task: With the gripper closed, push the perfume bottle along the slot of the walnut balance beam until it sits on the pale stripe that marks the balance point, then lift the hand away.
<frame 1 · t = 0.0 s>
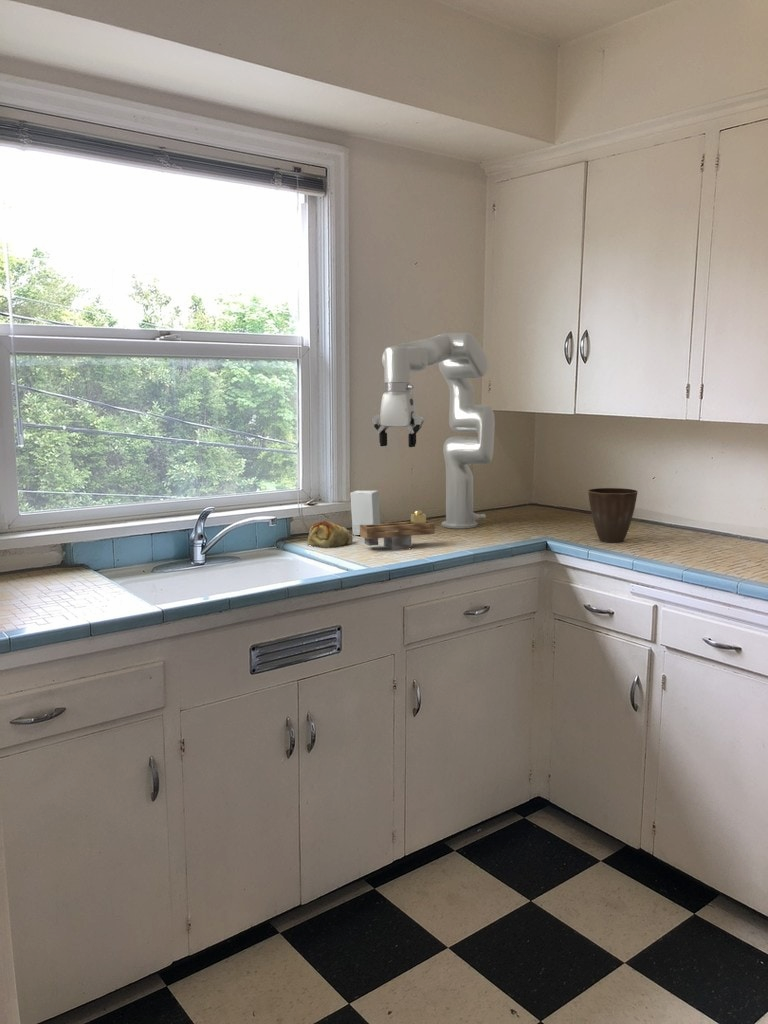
hand: (397, 446, 244), 31 cm above the worktop, tool pointing down, fingers open, 9 cm apart
beam: (397, 547, 250), on the worktop
skincare box: (366, 535, 272), on the worktop
plant pot: (611, 541, 257), on the worktop
perfume bottle: (418, 519, 251), point 8 cm above the worktop, slide at 0.0 cm
pastry: (329, 545, 256), on the worktop
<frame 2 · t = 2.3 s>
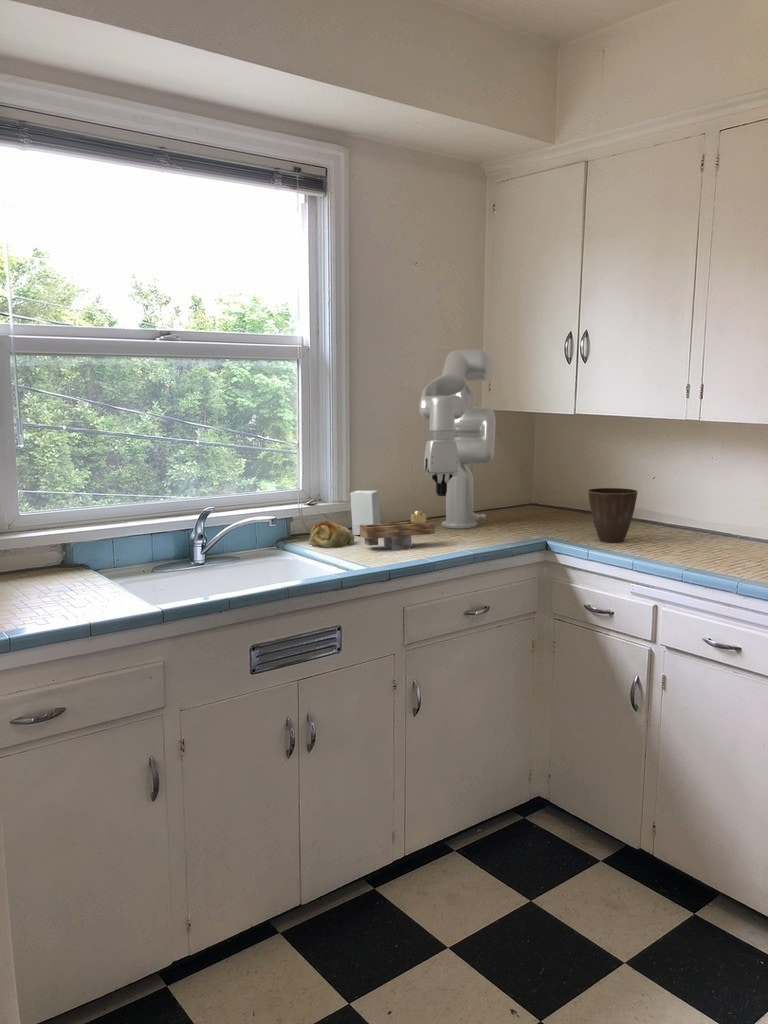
hand: (441, 495, 252), 15 cm above the worktop, tool pointing down, fingers closed
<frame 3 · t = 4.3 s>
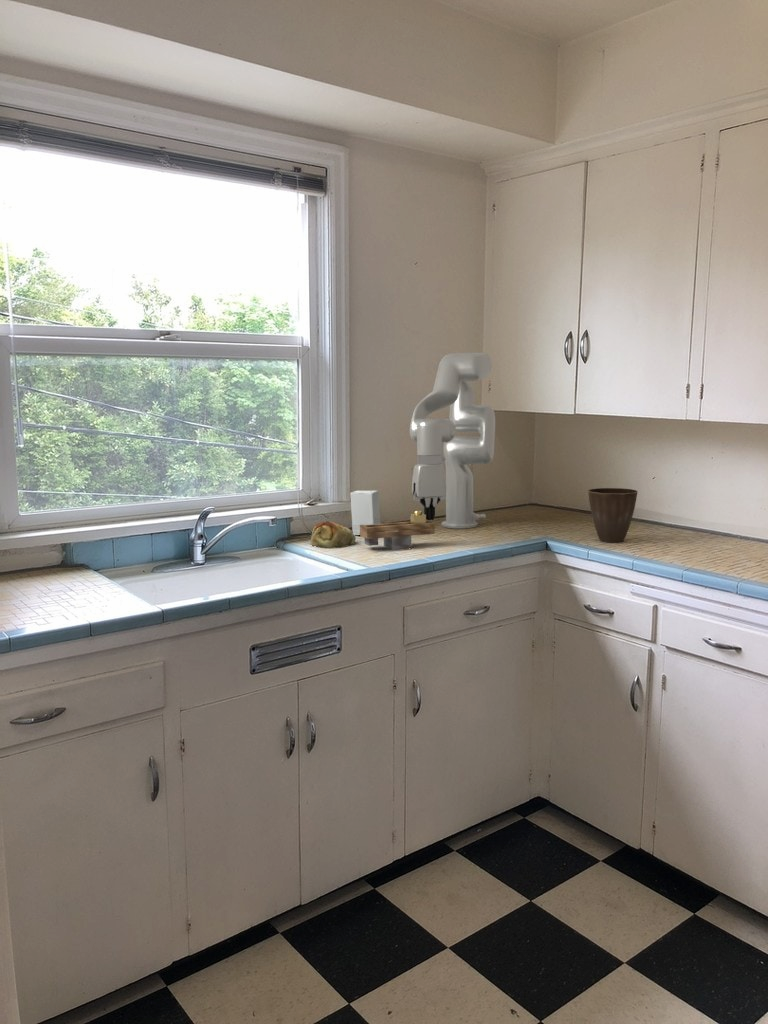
hand: (429, 519, 253), 8 cm above the worktop, tool pointing down, fingers closed
perfume bottle: (418, 519, 251), point 8 cm above the worktop, slide at 0.0 cm, touching gripper
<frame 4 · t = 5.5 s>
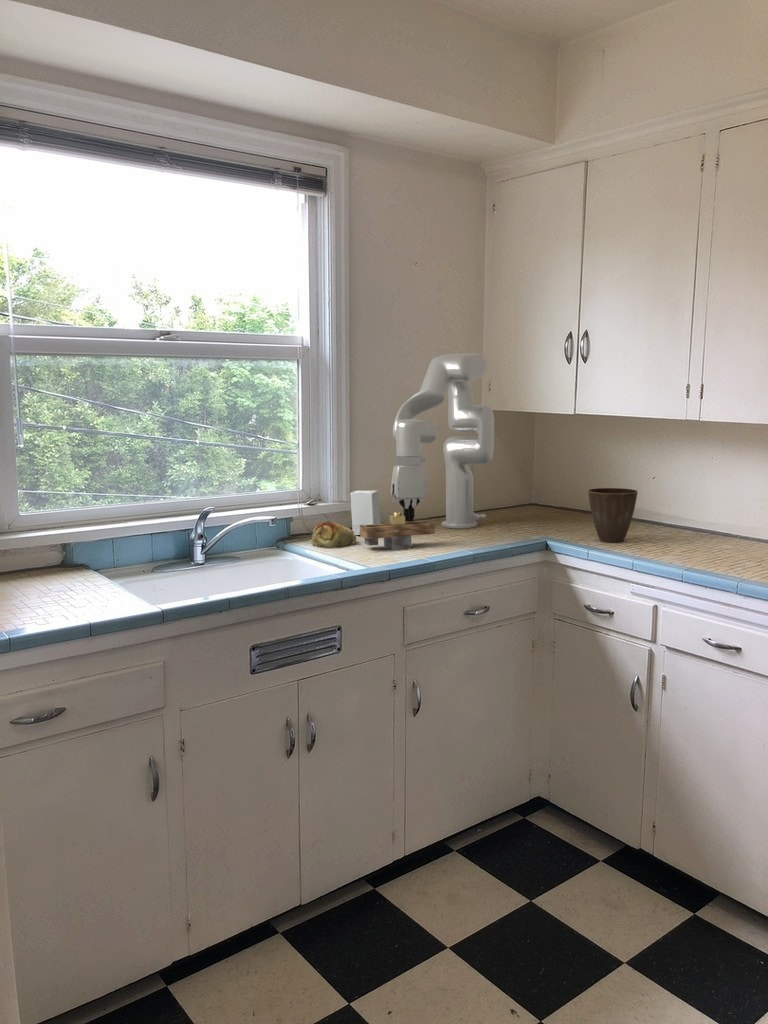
hand: (409, 520, 250), 8 cm above the worktop, tool pointing down, fingers closed
perfume bottle: (397, 520, 249), point 8 cm above the worktop, slide at 7.0 cm, touching gripper
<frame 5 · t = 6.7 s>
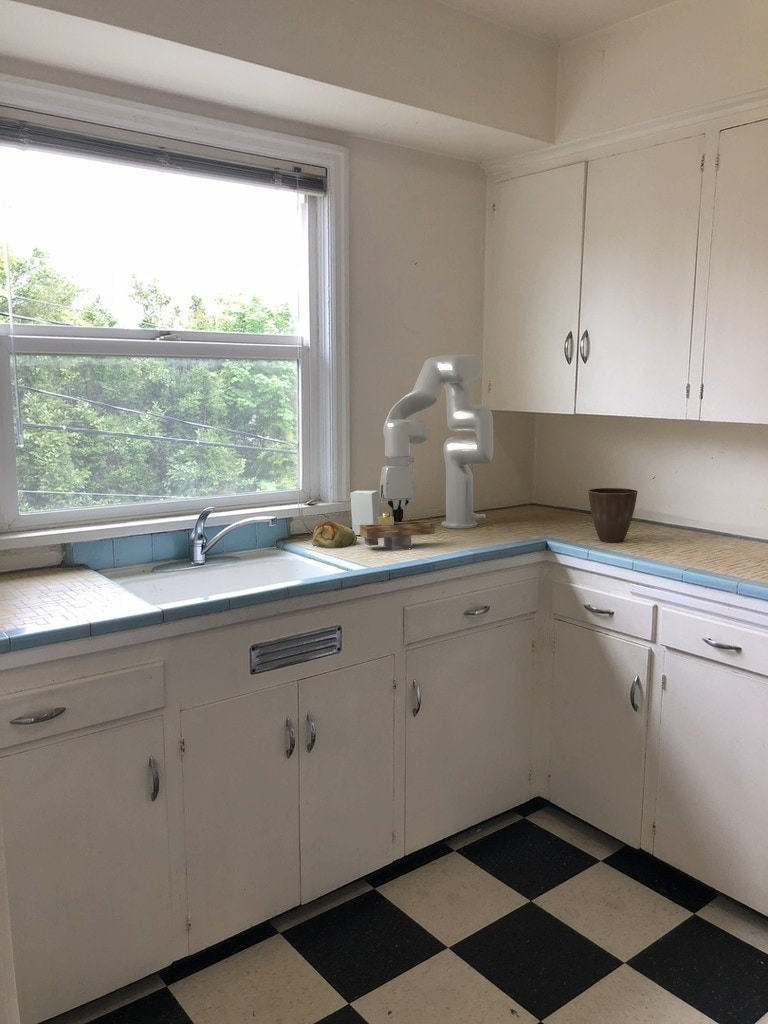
hand: (397, 521, 249), 8 cm above the worktop, tool pointing down, fingers closed
perfume bottle: (386, 521, 248), point 8 cm above the worktop, slide at 10.7 cm, touching gripper
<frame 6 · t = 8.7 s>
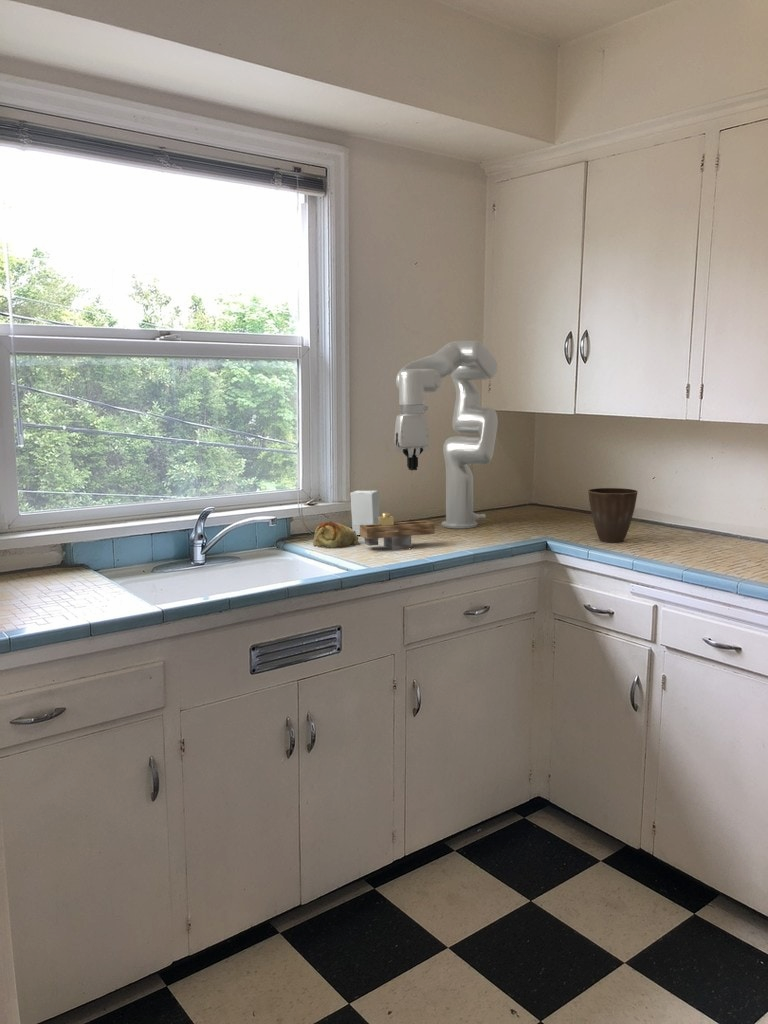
hand: (412, 469, 252), 23 cm above the worktop, tool pointing down, fingers closed
perfume bottle: (386, 521, 248), point 8 cm above the worktop, slide at 10.7 cm
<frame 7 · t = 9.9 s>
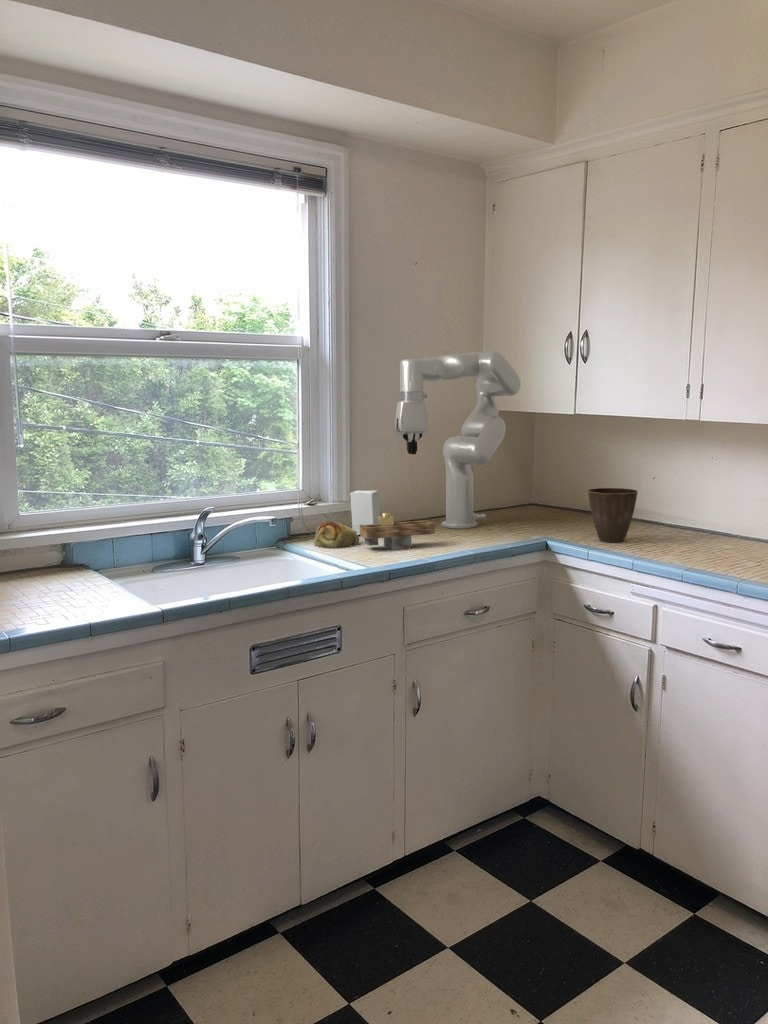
hand: (412, 453, 266), 27 cm above the worktop, tool pointing down, fingers closed
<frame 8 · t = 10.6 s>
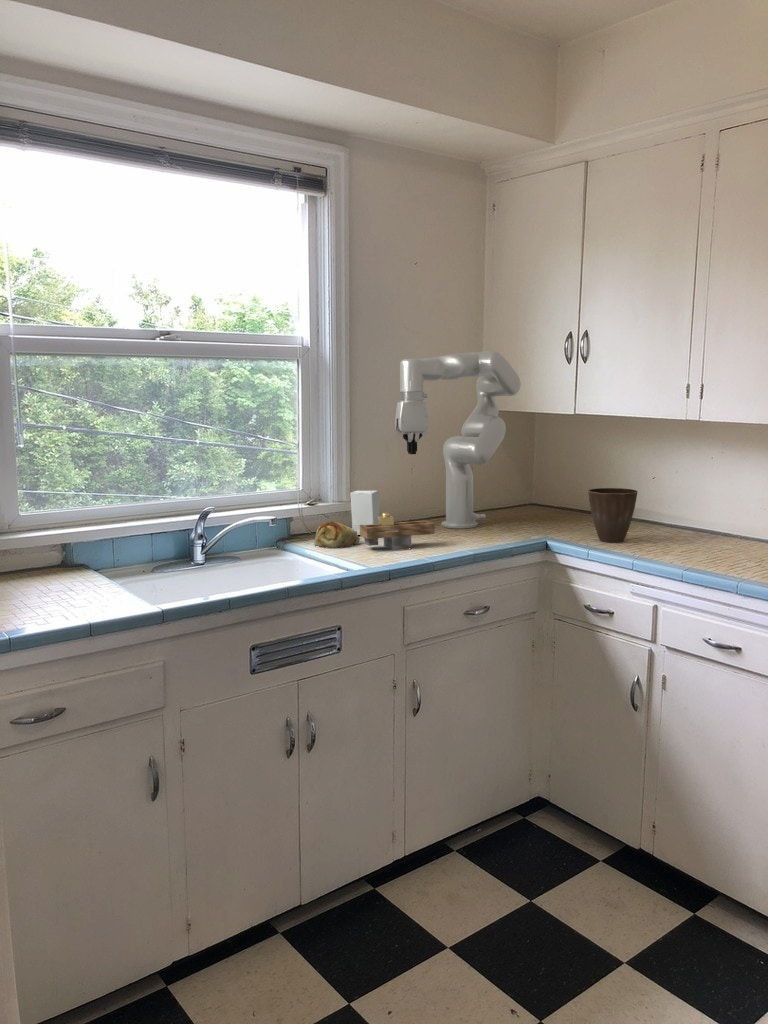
hand: (412, 453, 266), 27 cm above the worktop, tool pointing down, fingers closed
at the end: perfume bottle slide at 10.7 cm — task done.
